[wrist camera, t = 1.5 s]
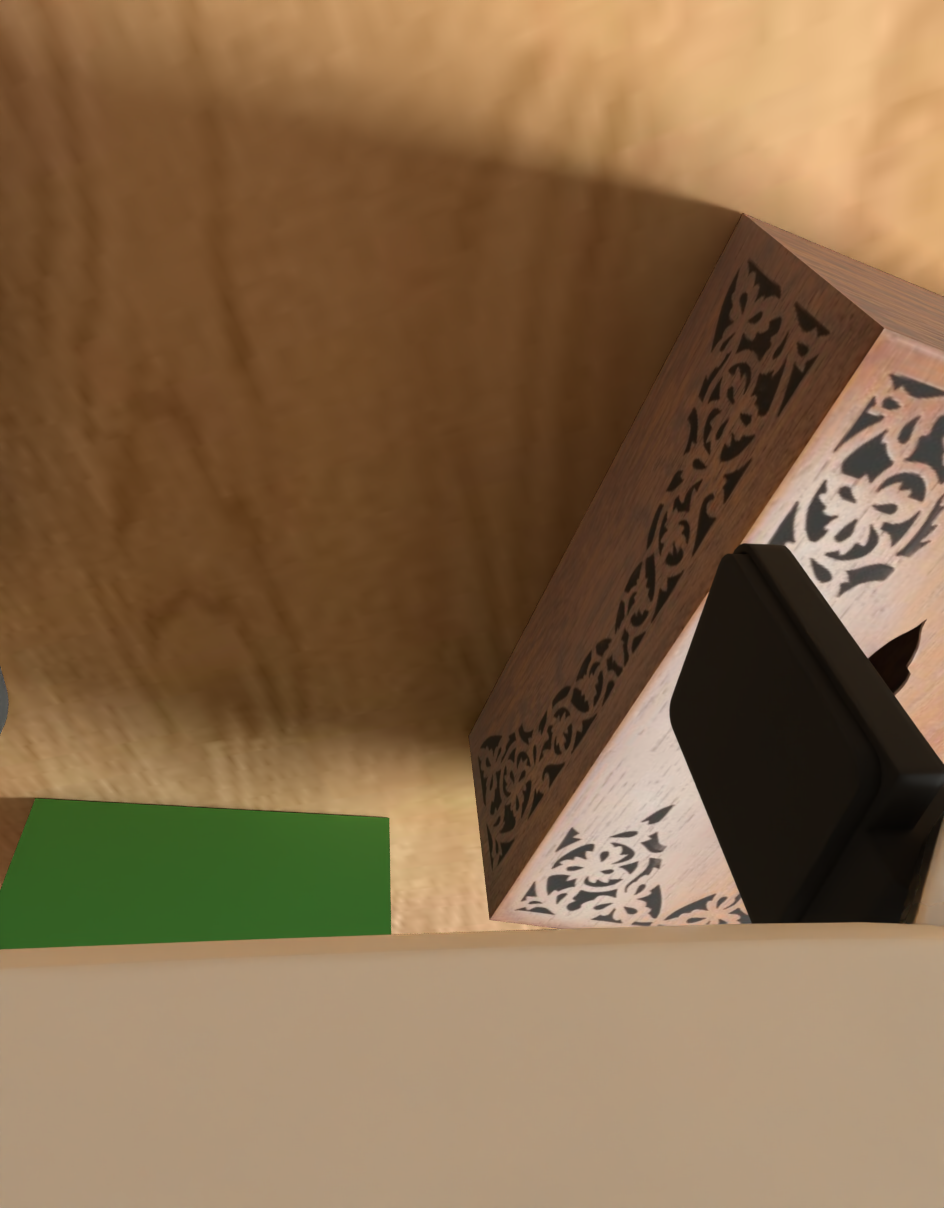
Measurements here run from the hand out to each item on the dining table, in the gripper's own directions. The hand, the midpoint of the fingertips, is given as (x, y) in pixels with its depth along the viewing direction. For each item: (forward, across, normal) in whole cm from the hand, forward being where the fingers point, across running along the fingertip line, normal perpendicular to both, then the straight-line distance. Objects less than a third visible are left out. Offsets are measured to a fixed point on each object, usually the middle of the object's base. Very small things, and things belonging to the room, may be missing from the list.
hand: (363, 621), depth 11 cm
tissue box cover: (+20, -16, +13) cm, 29 cm away
